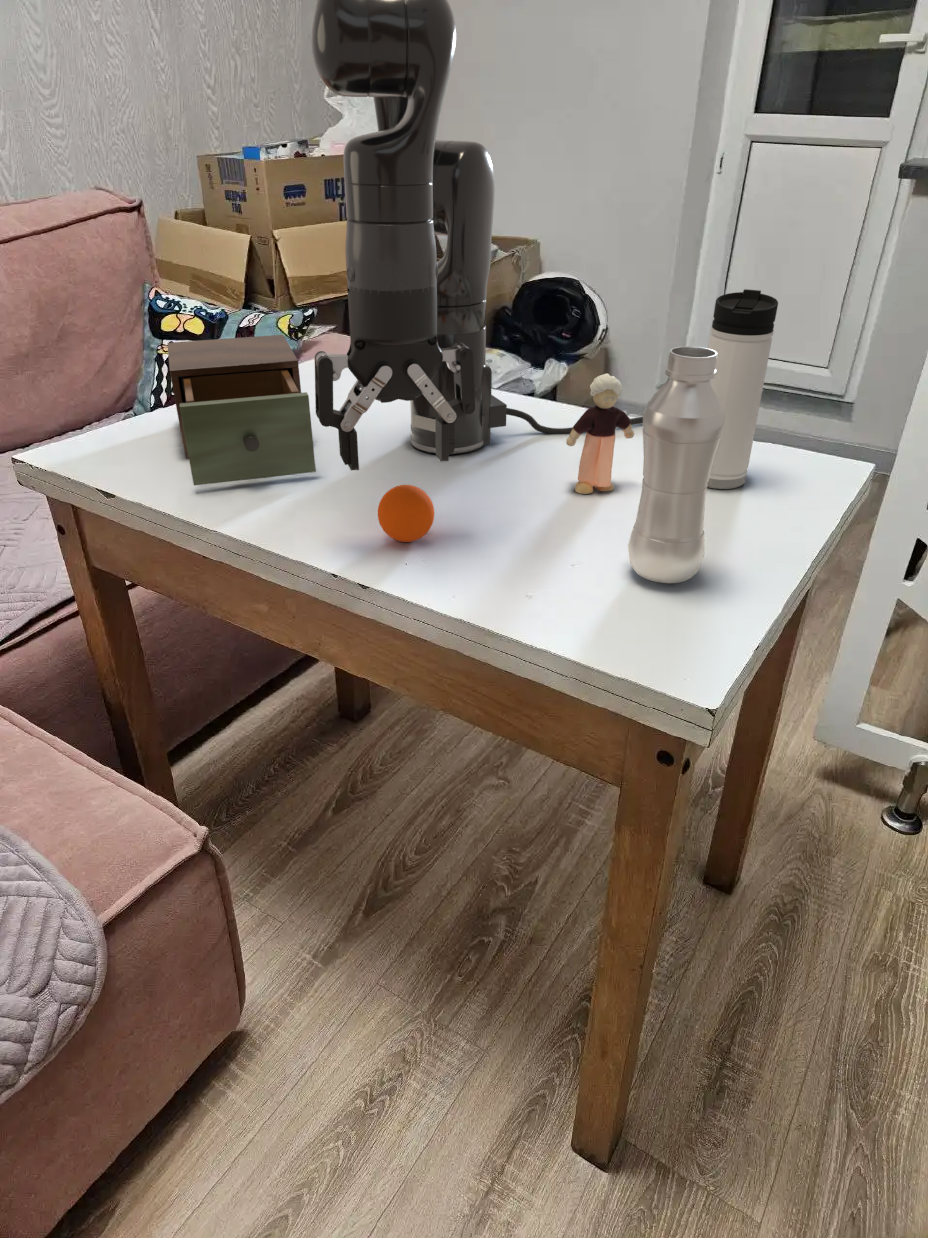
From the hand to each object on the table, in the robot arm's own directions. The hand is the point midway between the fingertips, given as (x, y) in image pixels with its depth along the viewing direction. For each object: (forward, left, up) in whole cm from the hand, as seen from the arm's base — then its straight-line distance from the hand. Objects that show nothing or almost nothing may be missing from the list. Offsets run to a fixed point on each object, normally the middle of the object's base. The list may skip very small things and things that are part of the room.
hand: (398, 463), depth 79 cm
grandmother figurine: (-25, -4, -8) cm, 26 cm away
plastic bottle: (-20, +16, -8) cm, 27 cm away
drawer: (+10, -25, -7) cm, 28 cm away
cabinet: (+9, -37, -8) cm, 39 cm away
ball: (-1, 0, -8) cm, 8 cm away
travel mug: (-39, -1, -8) cm, 39 cm away
